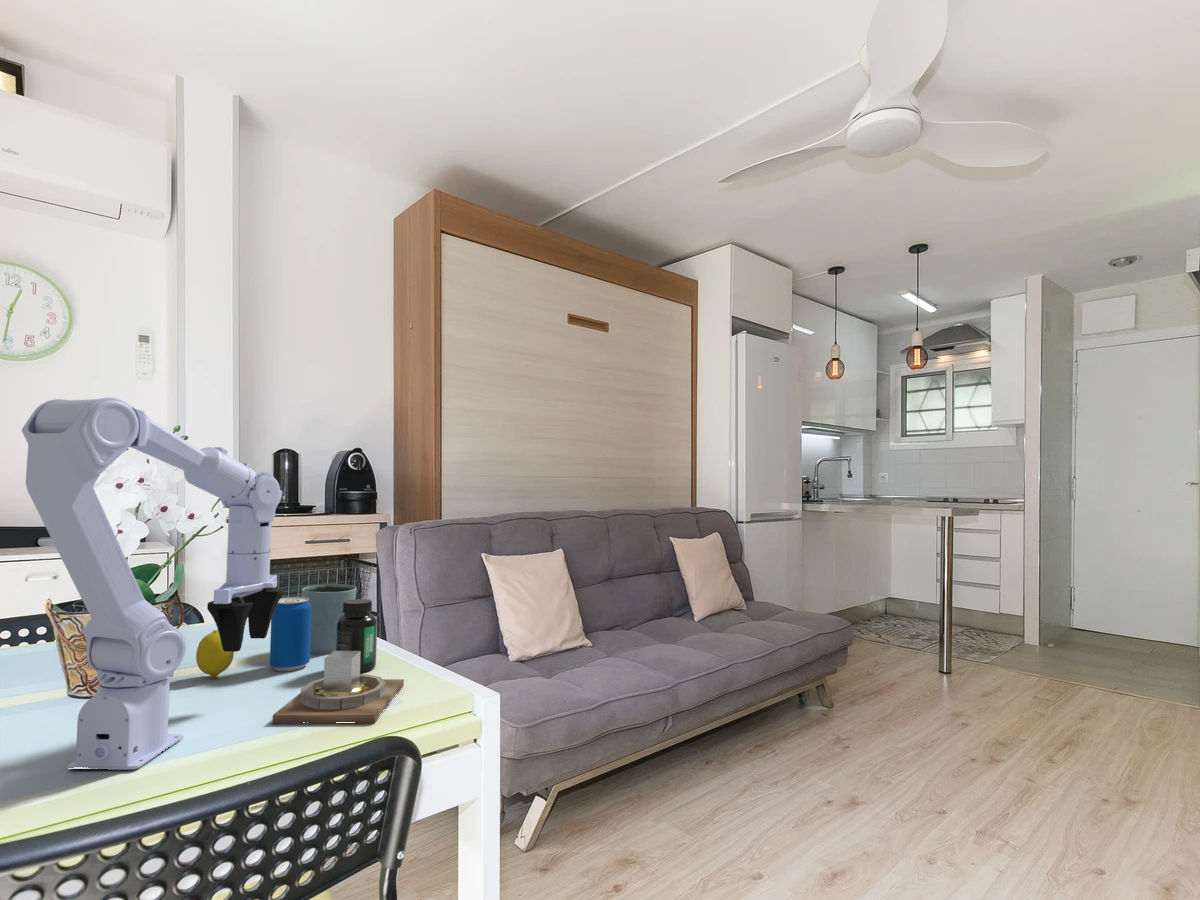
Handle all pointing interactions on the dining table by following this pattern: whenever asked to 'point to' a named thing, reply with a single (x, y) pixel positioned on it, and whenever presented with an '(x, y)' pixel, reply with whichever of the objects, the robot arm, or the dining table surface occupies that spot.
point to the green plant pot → (326, 614)
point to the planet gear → (342, 675)
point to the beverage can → (290, 634)
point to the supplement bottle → (358, 632)
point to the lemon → (212, 655)
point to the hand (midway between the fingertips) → (245, 644)
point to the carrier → (340, 703)
